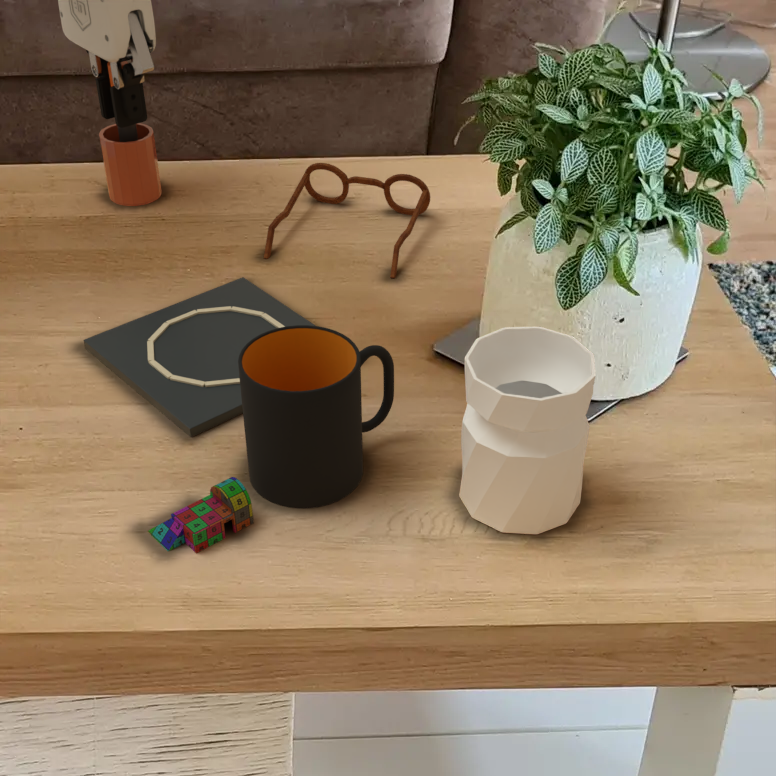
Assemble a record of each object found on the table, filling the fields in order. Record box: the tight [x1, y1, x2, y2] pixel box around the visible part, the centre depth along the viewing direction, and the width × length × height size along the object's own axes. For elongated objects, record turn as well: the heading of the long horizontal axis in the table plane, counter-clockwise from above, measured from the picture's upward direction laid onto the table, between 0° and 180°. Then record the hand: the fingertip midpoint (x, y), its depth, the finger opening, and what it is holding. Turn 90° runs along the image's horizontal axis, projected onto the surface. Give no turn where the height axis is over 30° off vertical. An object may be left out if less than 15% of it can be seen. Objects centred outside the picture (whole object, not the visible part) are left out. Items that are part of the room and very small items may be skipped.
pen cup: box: [98, 122, 163, 207], centre depth 117 cm, size 5×5×7 cm
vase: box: [458, 326, 597, 535], centre depth 80 cm, size 9×9×12 cm
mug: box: [238, 325, 395, 509], centre depth 83 cm, size 8×12×10 cm
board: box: [82, 276, 316, 438], centre depth 97 cm, size 16×16×1 cm
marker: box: [107, 61, 138, 142], centre depth 115 cm, size 2×2×13 cm
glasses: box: [263, 162, 431, 279], centre depth 112 cm, size 13×13×5 cm
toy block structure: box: [146, 476, 254, 554], centre depth 79 cm, size 6×4×3 cm
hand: (124, 118), depth 114 cm, fingers closed on marker, 2 cm apart
